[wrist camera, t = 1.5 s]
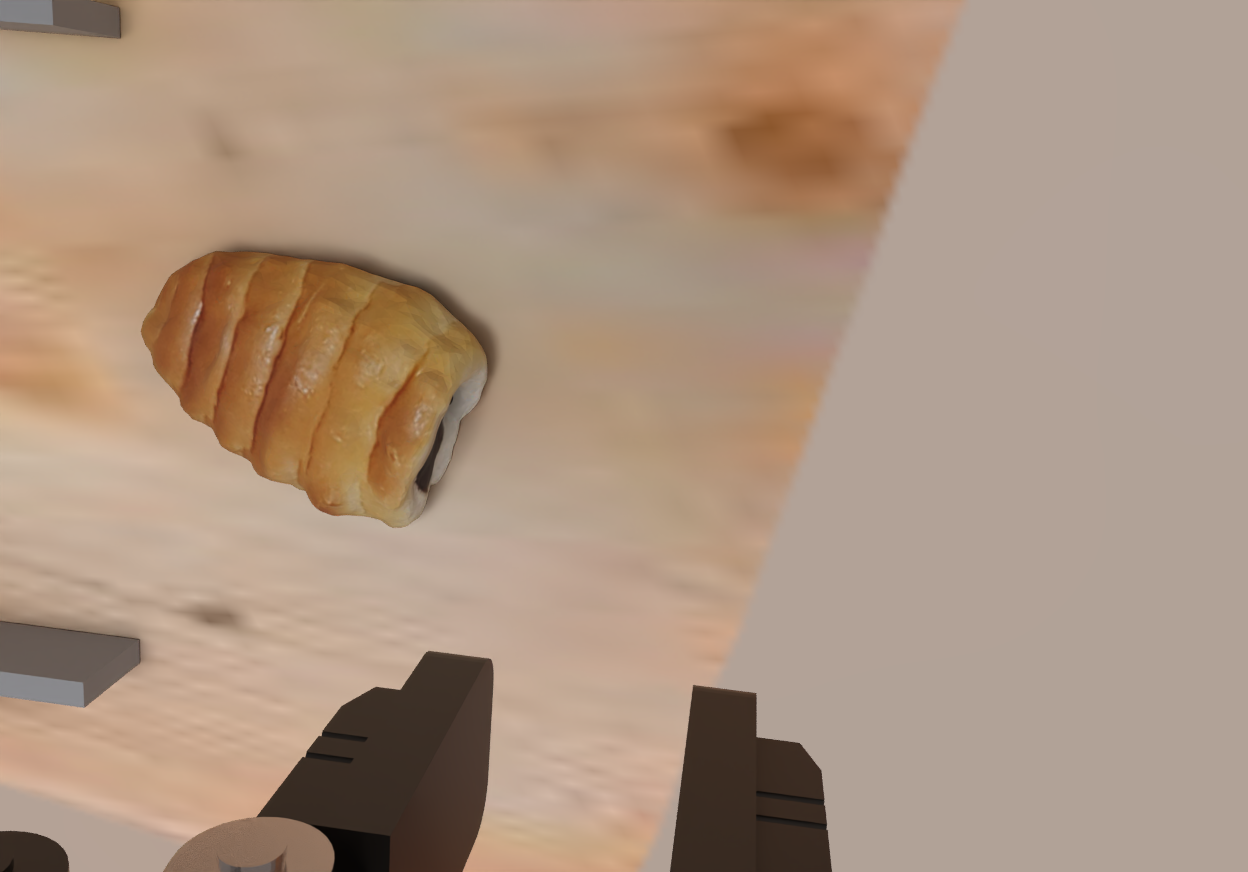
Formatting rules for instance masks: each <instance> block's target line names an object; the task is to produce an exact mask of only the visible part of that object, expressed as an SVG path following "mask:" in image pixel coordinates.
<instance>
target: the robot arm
mask: <svg viewBox="0 0 1248 872" xmlns="http://www.w3.org/2000/svg"><path fill="white" fill-rule="evenodd" d="M492 698H493V664H492V661H491V659H488V658H480V657H472V656H464V655H457V654H449V653H441V652H433V651H428V652H426V654H425V655H424V656H423V658H422V659H421V661H420V662H419V664H418V665H417V666H416V668H415V669H414V671H413V672H412V674H411V675H410V677H409V678H408V680H407V681H406V683H405V684H404V686H403V687H402V689H401V690H396V689H388V688H380V687H375V688H373V689H371V690H369V691H368V692H366V693H364V694H362V695H361V696H359V697H357V698H355V699H353V700H352V701H350V702H348V703H346V704H345V705H343V706H341V708H340V709H339V710H338V712H337V713H336V714H335V715H334V717H333V718H332V719H331V721H330V722H329V723H328V725H327V726H326V727H325V728H324V730H323V731H322V736H318V738H317V739H316V740H315V741H314V743H313V744H312V745H311V747H310V748H309V749H308V751H307V753H306V757H302V758H301V760H300V761H299V762H298V764H297V765H296V766H295V768H294V769H293V770H292V771H291V773H290V774H289V775H288V777H287V778H286V779H285V781H284V782H283V783H282V784H281V786H280V787H279V788H278V790H277V791H276V792H275V794H274V795H273V796H272V797H271V799H270V800H269V801H268V803H267V804H266V805H265V807H264V808H263V809H262V810H261V812H260V813H259V814H258V816H257V817H255V818H246V819H241V820H235V821H231V822H228V823H224V824H221V825H218V826H216V827H213V828H210V829H208V830H206V831H204V832H202V833H200V834H198V835H197V836H195V837H194V838H192V839H191V840H189V841H188V842H186V843H185V844H184V845H183V846H182V847H181V848H180V849H179V850H178V851H177V852H176V853H175V855H174V856H173V857H172V859H171V860H170V862H169V863H168V865H167V866H166V868H165V870H164V871H163V872H462V871H463V869H464V866H465V864H466V862H467V859H468V857H469V854H470V852H471V850H472V847H473V845H474V843H475V840H476V837H477V835H478V832H479V828H480V825H481V821H482V816H483V811H484V806H485V800H486V793H487V785H488V770H489V752H490V734H491V716H492ZM826 828H827V821H826V812H825V806H824V792H823V782H822V773H821V770H820V768H819V767H818V766H817V765H816V763H815V762H814V761H813V759H812V758H811V757H810V756H809V754H808V753H807V752H806V751H805V749H804V748H803V747H802V745H801V744H800V743H795V742H788V741H780V740H773V739H765V738H758V737H756V693H751V692H743V691H735V690H727V689H720V688H712V687H704V686H696V685H693V692H692V700H691V708H690V716H689V724H688V732H687V740H686V748H685V756H684V764H683V772H682V780H681V788H680V796H679V804H678V812H677V820H676V829H675V836H674V845H673V852H672V860H671V869H670V872H832V869H831V859H830V849H829V840H828V830H826ZM0 872H69V862H68V856H67V854H66V852H65V851H64V849H63V848H62V847H61V846H60V845H59V844H58V843H57V842H55V841H53V840H51V839H49V838H47V837H44V836H41V835H38V834H34V833H28V832H18V831H0Z"/></svg>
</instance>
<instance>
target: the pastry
mask: <svg viewBox="0 0 1248 872" xmlns="http://www.w3.org/2000/svg"><path fill="white" fill-rule="evenodd" d="M141 333H142V337H143V339H144V342H145V345H146V346H147V347H148V349H149V350H150V352H151V355H152V358H153V365H154V367H155V369H156V371H157V372H158V373H159V374H160V376H161V377H162V378H163V379H164V380H165V382H166V383H168V384H169V386H170V387H171V388H172V389H173V390H174V391H175V393H176V394H177V395H178V397H179V398H180V403H181V406H182V408H183V410H184V411H185V412H186V413H187V414H189V416H190V417H191V418H192V419H194V420H197V421H199V422H202V423H204V424H206V425H208V426H209V427H211V428H212V429H213V431H214V433H215V435H216V437H217V439H218V440H219V443H220V445H221V446H222V447H224V448H225V449H227V450H228V451H230V452H232V453H235V454H238V455H240V456H242V457H244V458H246V459H248V460H249V461H250V462H251V463H252V465H253V468H254V470H255V471H256V472H257V474H258V475H260V476H262V477H264V478H267V479H269V480H271V481H276V482H280V483H286V484H291V485H293V486H295V487H296V488H298V489H300V490H304V491H306V493H307V495H308V497H309V499H310V501H311V503H312V504H313V505H314V506H315V507H316V508H317V509H319V510H320V511H322V512H325V513H327V514H330V515H333V516H341V515H354V516H366V517H371V518H375V519H379V520H381V521H383V522H384V523H386V524H387V525H388V526H390V527H393V528H401V527H405V526H407V525H409V524H410V523H411V522H413V521H414V520H416V519H417V518H419V517H420V515H421V514H422V512H423V509H424V507H425V504H426V501H427V497H428V493H429V489H430V486H431V485H434V484H436V483H438V481H439V480H440V479H441V477H442V476H443V474H444V472H445V471H446V468H447V466H448V463H449V462H450V460H451V457H452V450H453V446H454V444H455V442H456V439H457V435H458V430H459V424H460V420H461V419H462V418H463V417H464V416H465V415H466V414H468V413H469V412H470V411H471V410H472V409H473V408H474V407H475V406H476V404H477V403H478V401H479V400H480V396H481V392H482V390H483V387H484V385H485V383H486V381H487V360H486V355H485V352H484V350H483V349H482V347H481V345H480V344H479V342H478V341H477V339H476V338H475V337H474V335H473V334H472V333H471V332H470V331H469V330H468V329H467V328H466V327H465V326H464V325H463V324H462V323H461V322H460V321H458V320H457V319H456V318H455V317H454V316H453V315H452V314H451V313H450V312H449V311H448V310H447V309H446V308H445V307H444V306H443V305H442V304H441V303H439V302H438V301H437V300H436V299H435V298H434V297H433V296H432V295H430V294H429V293H427V292H425V291H424V290H422V289H420V288H418V287H415V286H410V285H406V284H403V283H400V282H397V281H393V280H390V279H386V278H383V277H380V276H377V275H374V274H370V273H368V272H365V271H363V270H360V269H358V268H355V267H352V266H349V265H346V264H343V263H333V262H324V261H318V260H313V259H298V258H294V257H289V256H279V255H274V254H270V253H260V252H220V251H216V252H213V253H210V254H207V255H205V256H203V257H201V258H199V259H196V260H193V261H192V262H190V263H189V264H187V265H186V266H184V267H182V268H181V269H179V270H177V271H176V272H174V273H173V274H172V275H171V276H170V277H169V279H168V280H167V282H166V284H165V285H164V287H163V289H162V291H161V293H160V295H159V297H158V299H157V301H156V304H155V306H154V308H153V309H152V310H151V311H150V312H149V313H148V314H147V316H146V318H145V319H144V322H143V325H142V329H141Z"/></svg>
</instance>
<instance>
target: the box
mask: <svg viewBox="0 0 1248 872" xmlns="http://www.w3.org/2000/svg"><path fill="white" fill-rule="evenodd" d="M0 29H4V30H17V31H30V32H43V33H57V34H70V35H83V36H96V37H109V38H120V16H119V7H115V6H111V5H107V4H103V3H99V2H95V1H91V0H0ZM139 663H140V651H139V640H138V639H131V638H123V637H115V636H108V635H100V634H92V633H85V632H77V631H69V630H62V629H54V628H46V627H39V626H31V625H23V624H16V623H8V622H0V696H3V697H10V698H18V699H25V700H32V701H39V702H47V703H54V704H61V705H69V706H76V707H83V708H84V707H86V706H87V705H88V704H89V703H91V702H92V701H93V700H94V699H96V698H97V697H98V696H99V695H101V694H102V693H103V692H104V691H106V690H107V689H108V688H109V687H110V686H112V685H113V684H114V683H115V682H117V681H118V680H119V679H120V678H122V677H123V676H124V675H125V674H127V673H128V672H129V671H130V670H132V669H133V668H134V667H135V666H136V665H138V664H139Z"/></svg>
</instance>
